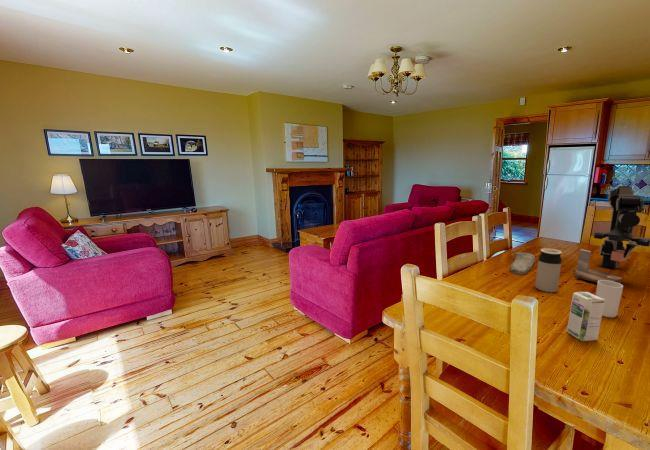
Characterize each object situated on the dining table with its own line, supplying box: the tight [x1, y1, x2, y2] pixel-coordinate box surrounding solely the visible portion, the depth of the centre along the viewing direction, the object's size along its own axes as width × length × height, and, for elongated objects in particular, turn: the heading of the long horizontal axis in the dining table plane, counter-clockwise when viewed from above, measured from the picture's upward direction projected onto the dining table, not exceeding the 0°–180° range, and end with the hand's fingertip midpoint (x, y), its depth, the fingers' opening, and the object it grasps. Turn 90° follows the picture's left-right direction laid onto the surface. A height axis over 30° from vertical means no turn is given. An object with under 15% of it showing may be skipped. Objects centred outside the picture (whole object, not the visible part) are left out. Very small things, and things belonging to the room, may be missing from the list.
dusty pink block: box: [611, 250, 628, 263], centre depth 134 cm, size 4×6×4 cm, turn 116°
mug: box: [595, 280, 624, 318], centre depth 109 cm, size 10×7×12 cm, turn 131°
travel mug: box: [534, 247, 563, 293], centre depth 129 cm, size 8×8×18 cm
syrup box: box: [566, 291, 605, 342], centre depth 94 cm, size 6×6×14 cm
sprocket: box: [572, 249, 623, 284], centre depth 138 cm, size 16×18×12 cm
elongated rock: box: [510, 251, 536, 276], centre depth 161 cm, size 35×5×10 cm
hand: (619, 256), depth 134 cm, fingers closed on dusty pink block, 3 cm apart
